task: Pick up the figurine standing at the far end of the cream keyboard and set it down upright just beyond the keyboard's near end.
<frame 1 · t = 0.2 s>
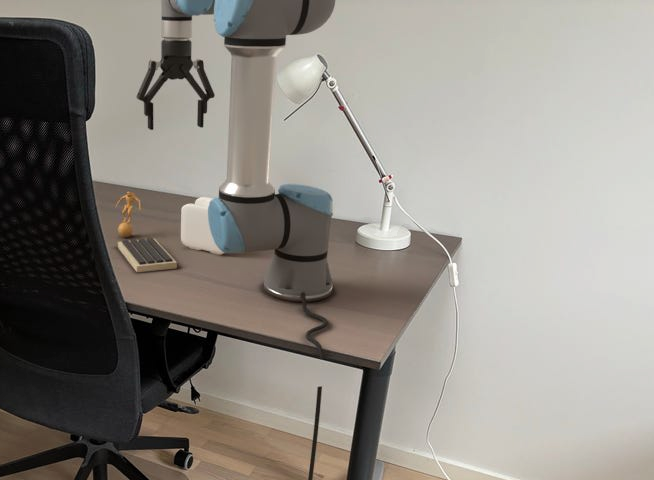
hand: (175, 127, 193), 28 cm above the table, tool pointing down, fingers open, 13 cm apart
cable organizer: (212, 247, 194), on the table
keyboard: (146, 257, 186), on the table
figurine: (127, 236, 202), on the table
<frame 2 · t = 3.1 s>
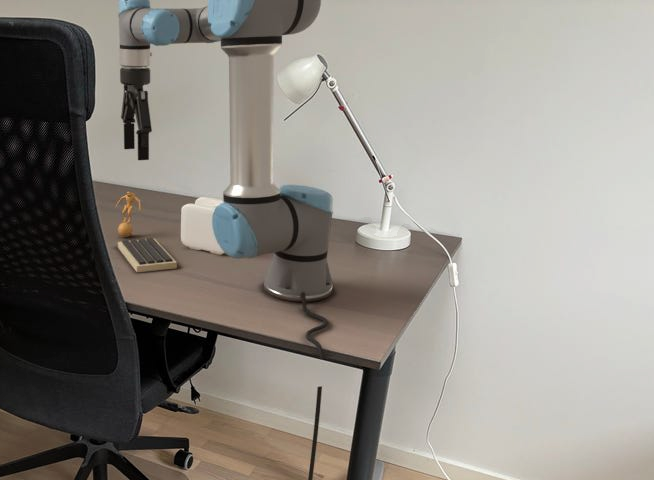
hand: (136, 154, 193), 22 cm above the table, tool pointing down, fingers open, 13 cm apart
nothing on the table moved.
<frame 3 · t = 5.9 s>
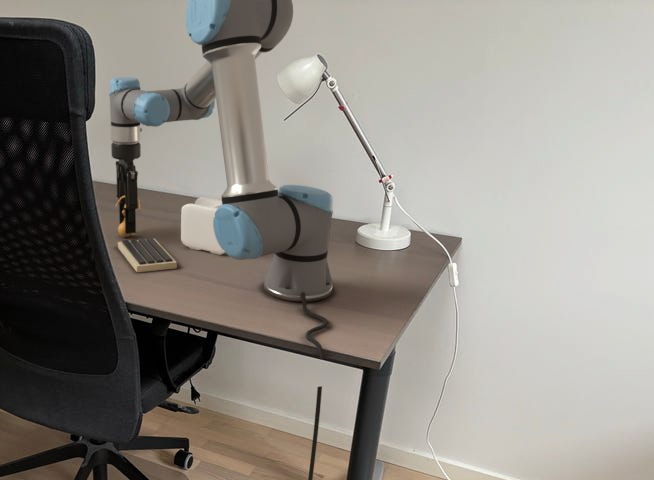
hand: (127, 229, 201), 2 cm above the table, tool pointing down, fingers closed on figurine, 6 cm apart
figurine: (127, 236, 202), on the table, touching gripper
everything else where it was.
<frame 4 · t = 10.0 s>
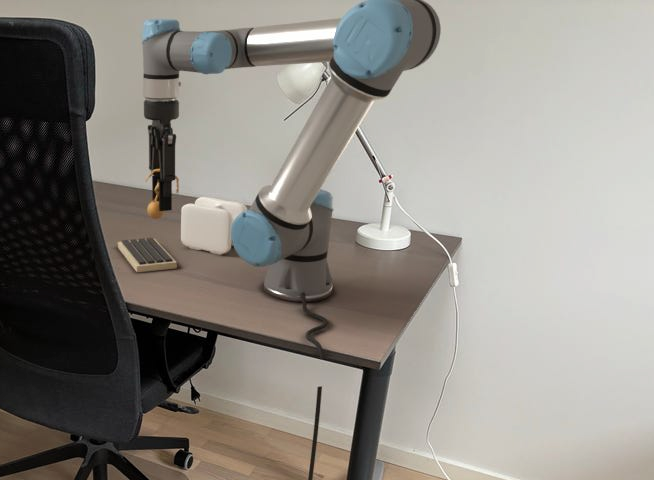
hand: (161, 206, 167), 16 cm above the table, tool pointing down
figurine: (157, 216, 170), point 14 cm above the table, touching gripper
everything else where it was.
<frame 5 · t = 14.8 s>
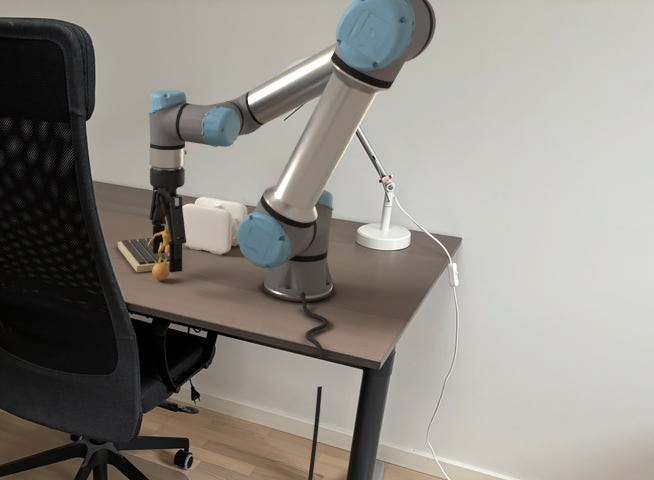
hand: (166, 261, 169), 5 cm above the table, tool pointing down, fingers open, 12 cm apart
figurine: (161, 279, 173), on the table
everything else where it was.
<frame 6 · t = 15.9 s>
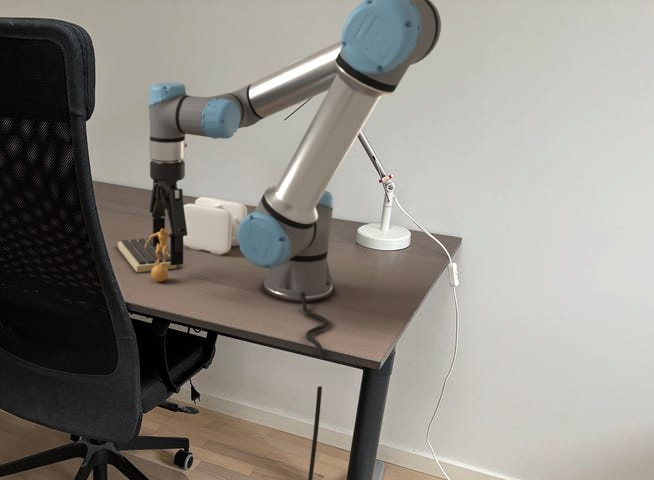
hand: (167, 254, 168), 7 cm above the table, tool pointing down, fingers open, 13 cm apart
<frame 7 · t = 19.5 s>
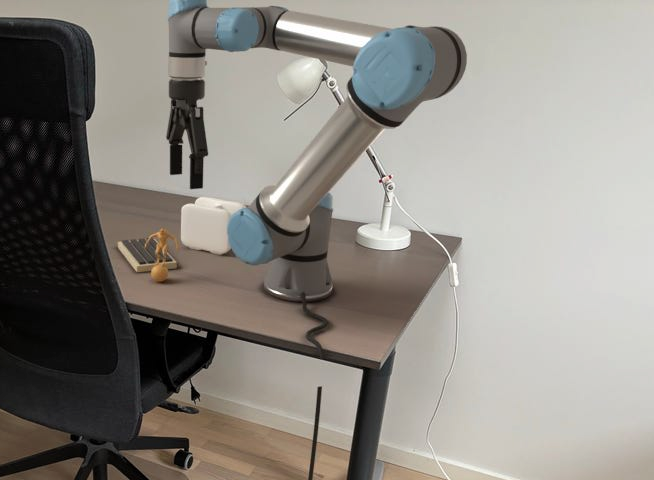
hand: (185, 181, 163), 23 cm above the table, tool pointing down, fingers open, 13 cm apart
nothing on the table moved.
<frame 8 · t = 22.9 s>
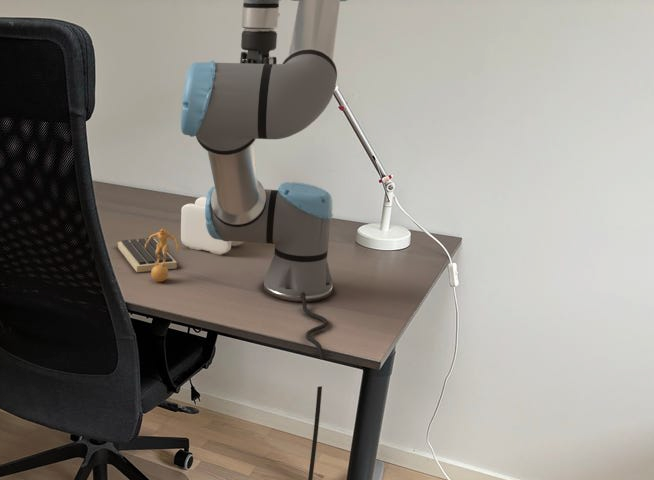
hand: (253, 132, 167), 32 cm above the table, tool pointing down, fingers open, 13 cm apart
nothing on the table moved.
at the end: figurine inside the target area on the table beside the keyboard (2.2 cm from its centre), on the table; figurine tilted 0°; the gripper is holding nothing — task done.
